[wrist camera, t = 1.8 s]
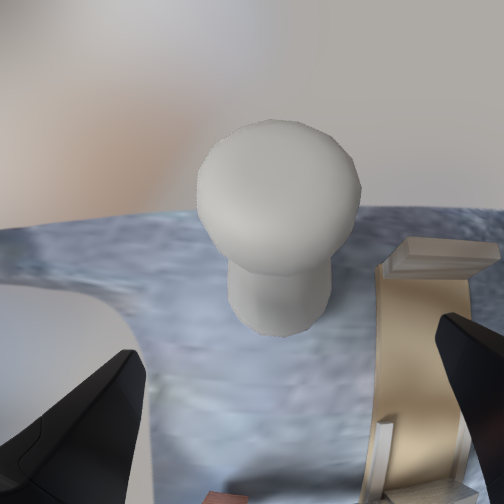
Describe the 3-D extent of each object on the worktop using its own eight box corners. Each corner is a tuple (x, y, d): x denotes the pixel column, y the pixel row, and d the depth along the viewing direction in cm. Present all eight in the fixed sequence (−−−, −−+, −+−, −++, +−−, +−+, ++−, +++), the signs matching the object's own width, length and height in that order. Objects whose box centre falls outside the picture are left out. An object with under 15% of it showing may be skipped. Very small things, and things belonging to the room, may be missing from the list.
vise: (437, 520, 11) (469, 546, 6) (349, 539, 12) (366, 578, 7) (459, 270, 18) (499, 243, 13) (374, 268, 19) (404, 236, 14)
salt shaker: (340, 281, 19) (427, 148, 6) (292, 358, 17) (330, 348, 5) (265, 236, 20) (247, 70, 8) (215, 306, 19) (112, 201, 7)
